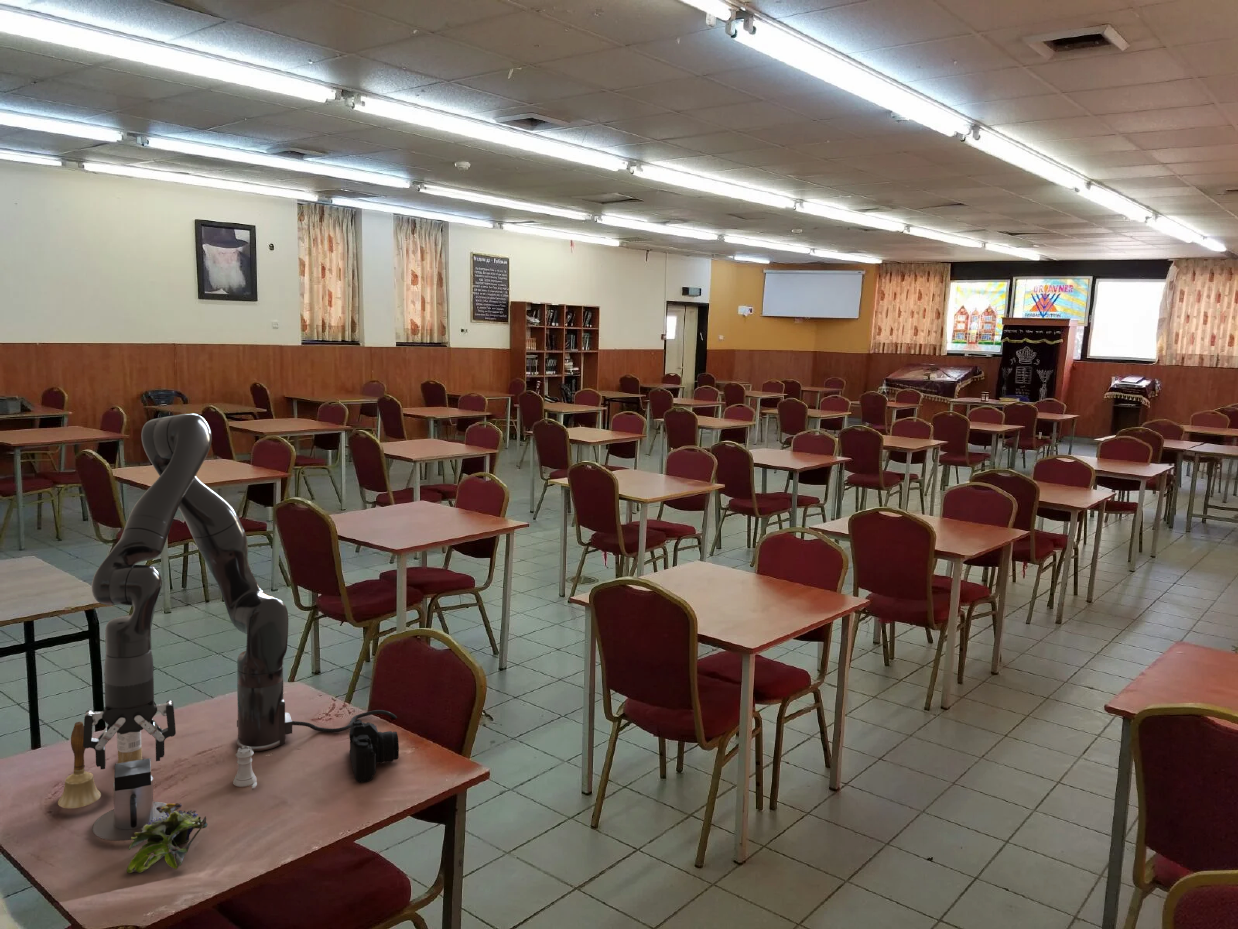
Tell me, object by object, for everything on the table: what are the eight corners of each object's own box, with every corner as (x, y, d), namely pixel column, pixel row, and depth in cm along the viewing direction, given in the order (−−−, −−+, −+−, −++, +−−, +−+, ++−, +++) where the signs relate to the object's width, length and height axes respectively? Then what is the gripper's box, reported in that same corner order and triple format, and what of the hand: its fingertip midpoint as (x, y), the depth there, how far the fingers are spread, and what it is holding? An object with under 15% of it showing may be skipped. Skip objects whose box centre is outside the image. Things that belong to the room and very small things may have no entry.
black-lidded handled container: (114, 815, 159) (113, 763, 158) (153, 808, 162) (152, 757, 161) (113, 840, 152) (111, 786, 150) (154, 833, 155) (152, 779, 153)
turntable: (173, 801, 167) (173, 795, 167) (176, 837, 156) (176, 830, 156) (94, 816, 161) (93, 810, 161) (90, 854, 150) (90, 847, 149)
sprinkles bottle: (139, 756, 184) (138, 694, 182) (144, 764, 180) (143, 702, 178) (115, 761, 181) (113, 699, 179) (119, 770, 177) (117, 707, 175)
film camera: (402, 778, 180) (403, 736, 179) (353, 785, 176) (353, 742, 175) (392, 745, 194) (393, 706, 193) (346, 751, 190) (346, 711, 189)
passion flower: (170, 879, 152) (207, 809, 157) (191, 898, 145) (229, 825, 149) (107, 861, 146) (148, 789, 151) (125, 881, 138) (167, 804, 143)
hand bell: (90, 788, 170) (87, 710, 168) (114, 801, 166) (112, 721, 164) (44, 806, 163) (40, 725, 161) (68, 821, 159) (65, 737, 157)
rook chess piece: (262, 784, 175) (262, 746, 174) (245, 795, 171) (245, 756, 169) (244, 780, 176) (243, 742, 175) (227, 790, 172) (226, 751, 171)
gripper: (80, 689, 148) (82, 780, 150) (175, 678, 154) (176, 766, 157) (83, 673, 154) (85, 761, 157) (174, 663, 161) (175, 747, 163)
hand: (131, 763), depth 157 cm, fingers open, 8 cm apart
